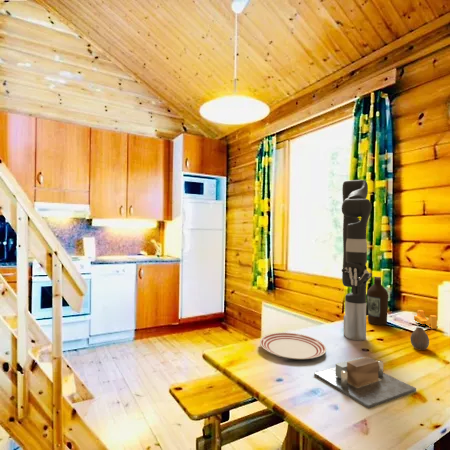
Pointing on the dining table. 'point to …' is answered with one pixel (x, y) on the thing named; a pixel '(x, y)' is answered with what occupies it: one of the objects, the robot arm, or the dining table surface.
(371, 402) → the housing base
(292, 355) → the dinner plate
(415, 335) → the vase
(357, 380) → the block
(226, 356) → the dining table surface
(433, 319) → the pipe clamp
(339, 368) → the bar
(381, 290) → the olive oil
